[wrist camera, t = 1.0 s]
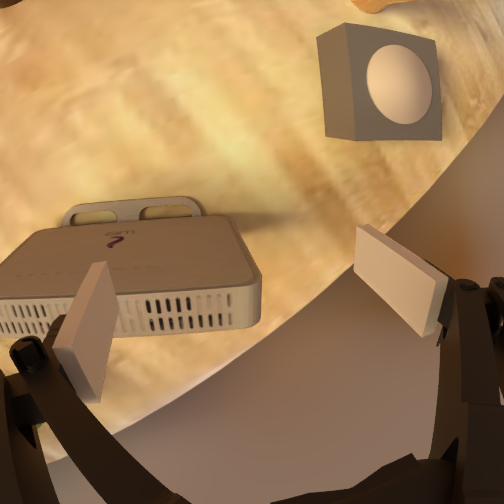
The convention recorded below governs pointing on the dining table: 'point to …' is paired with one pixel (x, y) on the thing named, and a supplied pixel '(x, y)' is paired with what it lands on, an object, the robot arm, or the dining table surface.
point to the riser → (379, 84)
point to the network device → (135, 272)
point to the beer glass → (375, 4)
